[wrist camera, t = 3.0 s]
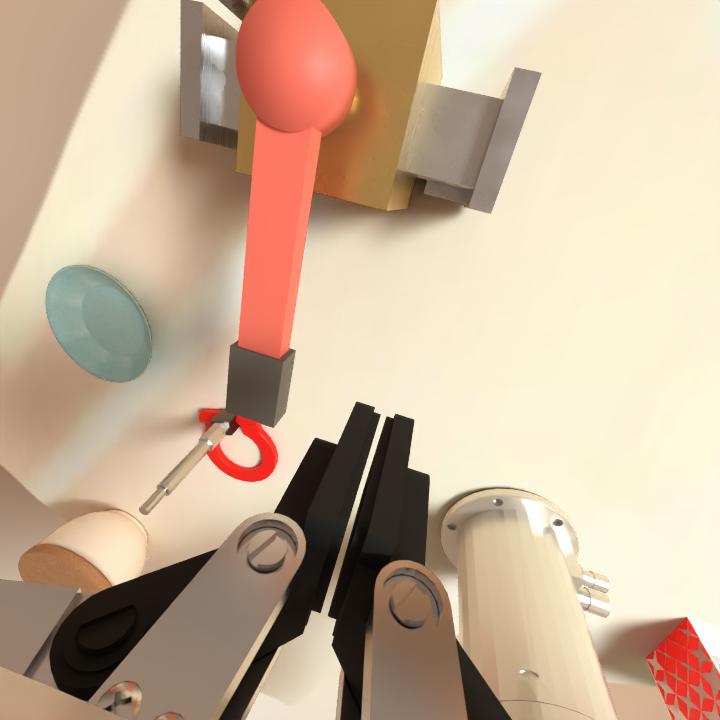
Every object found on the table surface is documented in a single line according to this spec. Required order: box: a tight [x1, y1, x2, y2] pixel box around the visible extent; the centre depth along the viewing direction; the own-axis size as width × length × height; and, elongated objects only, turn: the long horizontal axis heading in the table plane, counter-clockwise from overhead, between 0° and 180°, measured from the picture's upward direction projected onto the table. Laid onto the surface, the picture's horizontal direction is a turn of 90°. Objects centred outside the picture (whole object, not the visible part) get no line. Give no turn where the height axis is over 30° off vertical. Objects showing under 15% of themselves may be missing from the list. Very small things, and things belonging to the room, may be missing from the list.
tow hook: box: [139, 409, 278, 515], centre depth 34 cm, size 8×13×9 cm
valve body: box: [180, 0, 541, 214], centre depth 19 cm, size 18×8×14 cm, turn 77°
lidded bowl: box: [19, 509, 148, 594], centre depth 46 cm, size 13×13×11 cm
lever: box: [226, 0, 357, 428], centre depth 16 cm, size 18×4×2 cm, turn 167°
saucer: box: [46, 265, 152, 382], centre depth 36 cm, size 12×12×2 cm
